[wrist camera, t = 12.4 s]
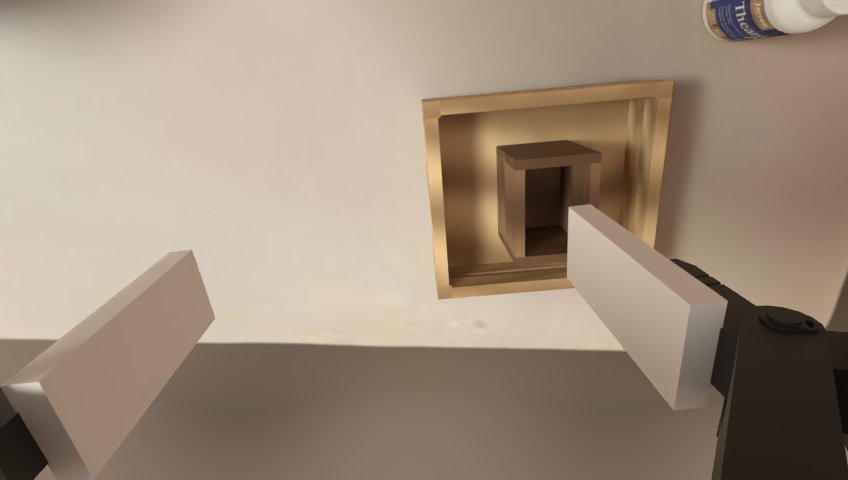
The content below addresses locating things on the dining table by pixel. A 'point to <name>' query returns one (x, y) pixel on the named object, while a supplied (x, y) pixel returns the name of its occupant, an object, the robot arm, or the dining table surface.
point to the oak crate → (529, 123)
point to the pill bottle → (768, 17)
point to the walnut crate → (543, 196)
